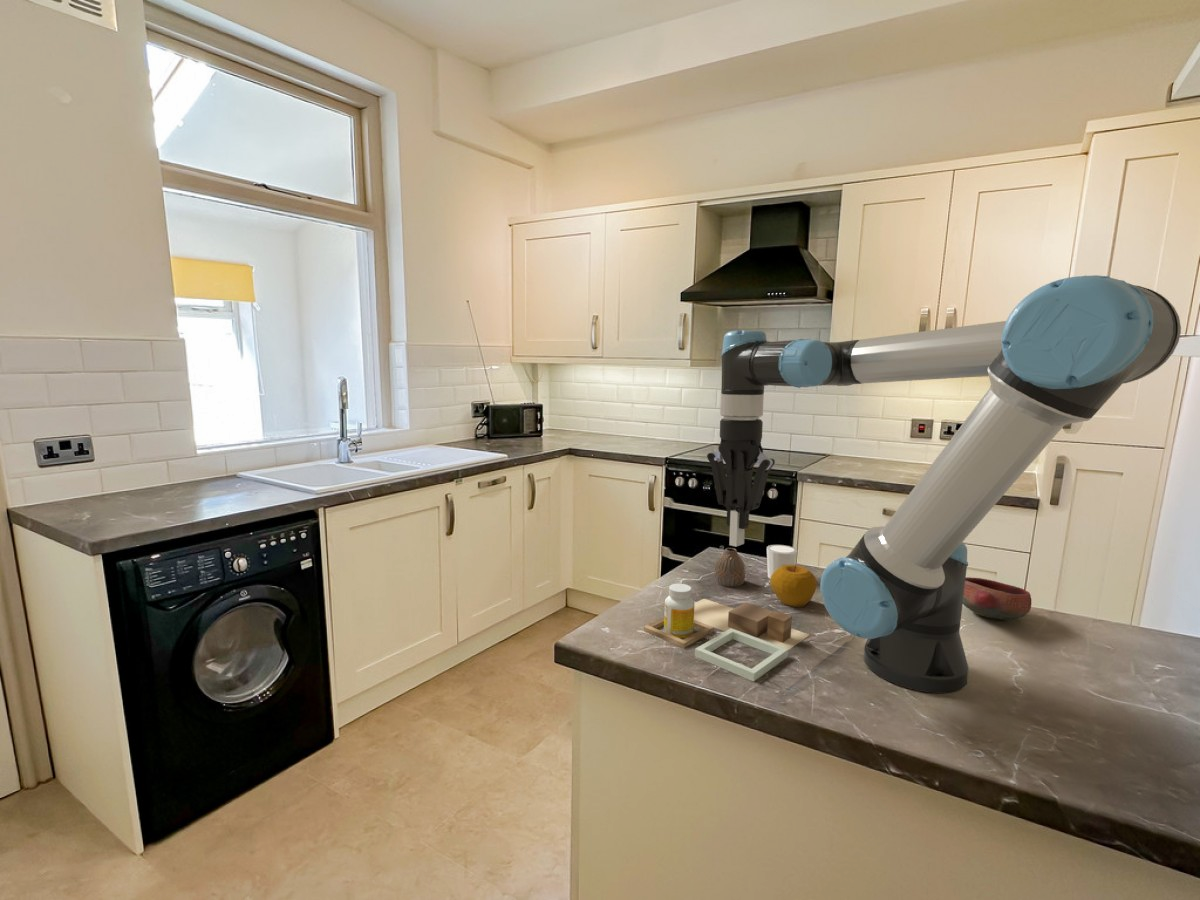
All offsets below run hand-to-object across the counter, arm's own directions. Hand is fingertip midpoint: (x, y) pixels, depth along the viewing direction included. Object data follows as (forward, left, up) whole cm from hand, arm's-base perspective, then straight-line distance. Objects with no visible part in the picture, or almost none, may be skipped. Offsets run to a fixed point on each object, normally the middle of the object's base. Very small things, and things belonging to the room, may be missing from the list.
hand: (736, 544), depth 110 cm
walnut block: (-4, 0, -15) cm, 16 cm away
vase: (+12, -17, -17) cm, 26 cm away
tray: (-8, +11, -16) cm, 21 cm away
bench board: (-1, 0, -16) cm, 16 cm away
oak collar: (+5, +11, -16) cm, 20 cm away
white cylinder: (+7, -31, -17) cm, 36 cm away
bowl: (-34, -40, -17) cm, 55 cm away
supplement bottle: (+5, +11, -17) cm, 20 cm away
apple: (-3, -17, -17) cm, 24 cm away
